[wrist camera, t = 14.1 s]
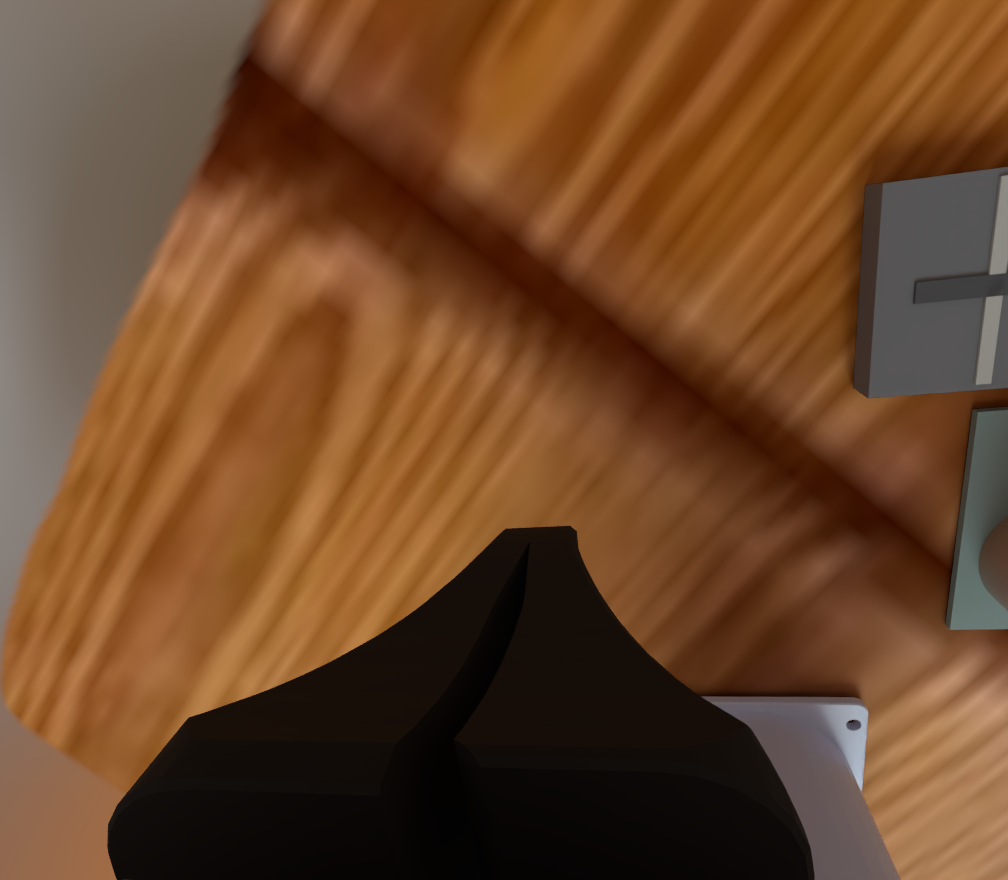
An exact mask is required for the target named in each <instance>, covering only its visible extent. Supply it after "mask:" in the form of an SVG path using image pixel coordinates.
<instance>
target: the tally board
mask: <svg viewBox="0 0 1008 880" xmlns="http://www.w3.org/2000/svg"><path fill="white" fill-rule="evenodd" d="M853 388H854V389H856V390H857V391H859V392H860V393H861V394H863V395H864V396H866V397H867V398H879V397H893V396H906V395H919V394H933V393H946V392H960V391H973V390H986V389H1000V388H1008V167H1000V168H992V169H985V170H977V171H970V172H962V173H954V174H947V175H939V176H932V177H924V178H916V179H909V180H901V181H894V182H886V183H878V184H871V185H865V198H864V215H863V232H862V248H861V265H860V282H859V299H858V316H857V332H856V349H855V366H854V383H853Z"/></svg>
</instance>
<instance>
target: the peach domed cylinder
mask: <svg viewBox="0 0 1008 880" xmlns="http://www.w3.org/2000/svg"><path fill="white" fill-rule="evenodd" d="M979 574H980V578H981V581H982V583H983V585H984V587H985V588H986V590H987V591H988V592H989V594H990V595H991V596H992V597H993V598H994V599H995V600H996V601H998V602H999V603H1000V604H1001V605H1002V606H1003V607H1004V608H1005V609H1006V610H1007V611H1008V516H1007V517H1006V518H1005V519H1003V520H1002V521H1001V522H1000V523H999V524H998V525H997V526H996V527H995V528H994V529H993V530H992V532H991V533H990V534H989V536H988V537H987V539H986V541H985V542H984V544H983V547H982V549H981V552H980V557H979Z"/></svg>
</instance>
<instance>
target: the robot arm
mask: <svg viewBox="0 0 1008 880" xmlns="http://www.w3.org/2000/svg"><path fill="white" fill-rule="evenodd" d="M850 720H856V721H854V722H851V723H848V721H850ZM867 726H868V709H867V707H866V706H865V704H864V702H863V701H862V700H860V699H858V698H854V697H713V696H699V695H698V694H696V693H695V692H693V691H692V690H691V689H689V688H688V687H687V686H685V685H684V684H682V683H681V682H680V681H678V680H677V679H676V678H675V677H674V676H673V675H671V674H670V673H669V672H668V671H667V670H666V669H665V668H664V667H663V666H661V665H660V664H659V663H658V662H657V661H656V660H655V659H654V658H652V657H651V656H650V655H649V654H648V653H647V652H646V651H645V650H644V649H643V648H642V647H641V646H640V644H639V643H638V642H637V641H636V640H635V639H634V638H633V637H632V636H631V635H630V633H629V632H628V631H627V630H626V629H625V627H624V626H623V625H622V624H621V623H620V621H619V620H618V619H617V617H616V616H615V615H614V613H613V612H612V611H611V609H610V608H609V606H608V605H607V603H606V602H605V600H604V599H603V597H602V596H601V594H600V592H599V591H598V589H597V587H596V586H595V584H594V582H593V580H592V578H591V576H590V574H589V572H588V570H587V568H586V567H585V564H584V562H583V560H582V557H581V554H580V552H579V549H578V540H577V531H576V530H574V529H573V528H572V527H571V526H557V527H534V528H512V529H505V530H504V531H503V532H502V533H500V534H499V535H498V536H497V537H496V538H495V539H494V540H493V541H492V542H491V543H490V544H489V545H488V546H487V547H486V548H485V549H484V550H483V551H482V552H481V553H480V554H479V555H478V556H477V557H476V558H475V559H474V560H473V561H472V562H471V563H470V564H469V565H468V566H467V567H466V568H465V569H463V570H462V571H461V572H460V573H459V574H458V575H457V576H456V577H455V578H454V579H453V580H451V581H450V582H449V583H448V584H447V585H445V586H444V587H443V588H442V589H441V590H439V591H438V592H437V593H436V594H435V595H434V596H432V597H431V598H430V599H429V600H428V601H426V602H425V603H424V604H423V605H421V606H420V607H419V608H417V609H416V610H415V611H413V612H412V613H411V614H409V615H408V616H406V617H405V618H404V619H402V620H401V621H399V622H398V623H396V624H395V625H393V626H392V627H390V628H389V629H387V630H386V631H384V632H383V633H381V634H379V635H378V636H376V637H375V638H373V639H371V640H369V641H367V642H366V643H364V644H362V645H360V646H358V647H357V648H355V649H353V650H351V651H349V652H348V653H346V654H344V655H342V656H340V657H339V658H337V659H335V660H333V661H331V662H329V663H327V664H325V665H323V666H321V667H319V668H317V669H315V670H313V671H311V672H308V673H306V674H304V675H302V676H300V677H297V678H295V679H293V680H290V681H288V682H286V683H283V684H281V685H279V686H277V687H274V688H272V689H269V690H267V691H264V692H261V693H259V694H256V695H253V696H251V697H248V698H245V699H242V700H239V701H236V702H234V703H231V704H228V705H225V706H222V707H219V708H216V709H214V710H211V711H208V712H205V713H202V714H199V715H196V716H192V717H189V718H188V719H187V720H186V721H185V723H184V724H183V725H182V726H181V727H180V729H179V730H178V731H177V732H176V734H175V735H174V736H173V737H172V738H171V740H170V741H169V742H168V743H167V745H166V746H165V747H164V748H163V749H162V751H161V752H160V753H159V754H158V756H157V757H156V758H155V759H154V761H153V762H152V763H151V764H150V765H149V767H148V768H147V769H146V770H145V772H144V773H143V774H142V775H141V776H140V778H139V779H138V780H137V781H136V783H135V784H134V785H133V786H132V788H131V789H130V790H129V791H128V792H127V794H126V795H125V796H124V797H123V799H122V800H121V801H120V802H119V804H118V805H117V807H116V809H115V811H114V813H113V815H112V817H111V819H110V822H109V824H108V844H107V846H108V853H109V856H110V860H111V863H112V867H113V870H114V873H115V876H116V878H117V880H901V879H900V877H899V875H898V873H897V870H896V868H895V866H894V864H893V862H892V859H891V857H890V855H889V853H888V850H887V848H886V846H885V844H884V841H883V839H882V837H881V835H880V833H879V830H878V828H877V826H876V824H875V821H874V819H873V817H872V815H871V813H870V810H869V808H868V806H867V804H866V801H865V799H864V797H863V795H862V787H863V775H864V763H865V751H866V739H867Z"/></svg>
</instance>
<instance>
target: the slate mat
mask: <svg viewBox="0 0 1008 880" xmlns="http://www.w3.org/2000/svg"><path fill="white" fill-rule="evenodd" d="M1007 516H1008V407H997V408H982V409H973V410H972V418H971V426H970V434H969V442H968V450H967V458H966V465H965V473H964V481H963V489H962V497H961V505H960V513H959V521H958V529H957V537H956V545H955V553H954V561H953V569H952V577H951V584H950V592H949V600H948V608H947V616H946V626H947V627H948V628H949V629H950V630H968V629H1008V611H1007V610H1006V609H1005V608H1004V607H1003V606H1002V605H1001V604H1000V603H999V602H998V601H996V600H995V599H994V598H993V597H992V596H991V595H990V594H989V592H988V591H987V590H986V588H985V587H984V585H983V583H982V581H981V578H980V574H979V557H980V552H981V549H982V547H983V544H984V542H985V541H986V539H987V537H988V536H989V534H990V533H991V532H992V530H993V529H994V528H995V527H996V526H997V525H998V524H999V523H1000V522H1001V521H1002V520H1003V519H1005V518H1006V517H1007Z"/></svg>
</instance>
